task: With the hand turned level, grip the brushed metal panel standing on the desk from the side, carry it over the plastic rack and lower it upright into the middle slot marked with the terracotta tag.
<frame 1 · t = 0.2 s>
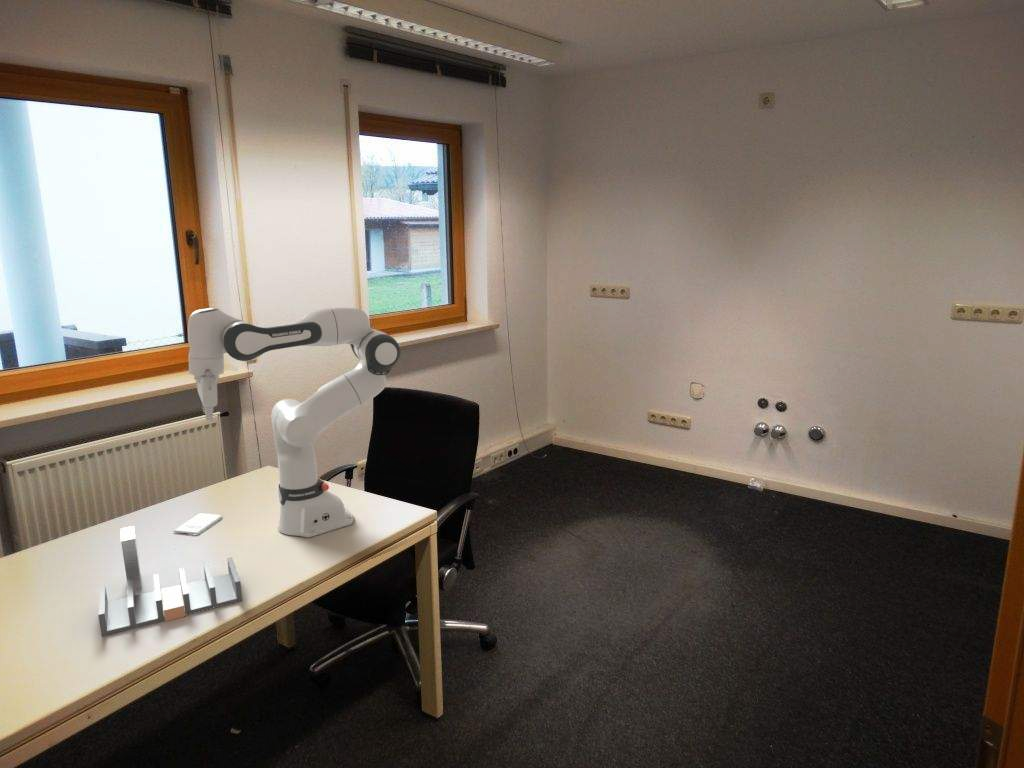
hand: (207, 416, 190), 39 cm above the table, tool pointing down, fingers open, 8 cm apart
panel: (134, 582, 178), on the table
rack: (173, 603, 168), on the table
external hard drive: (198, 527, 211), on the table
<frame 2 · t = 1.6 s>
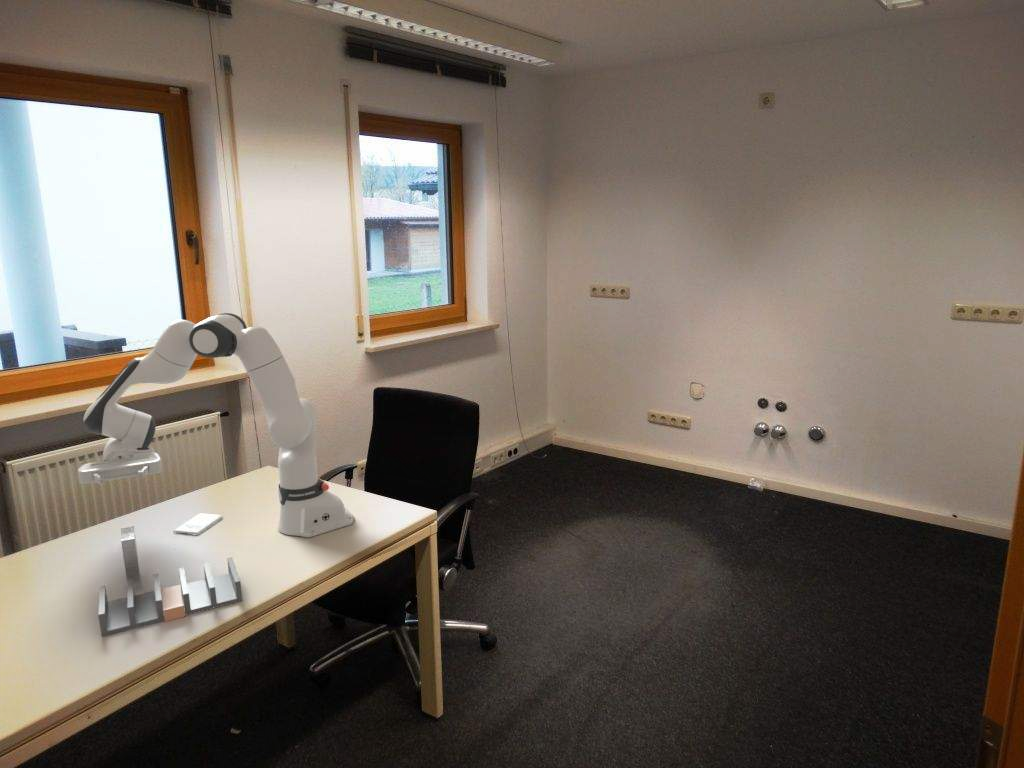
hand: (121, 478, 183), 25 cm above the table, tool horizontal, fingers open, 8 cm apart
nothing on the table moved.
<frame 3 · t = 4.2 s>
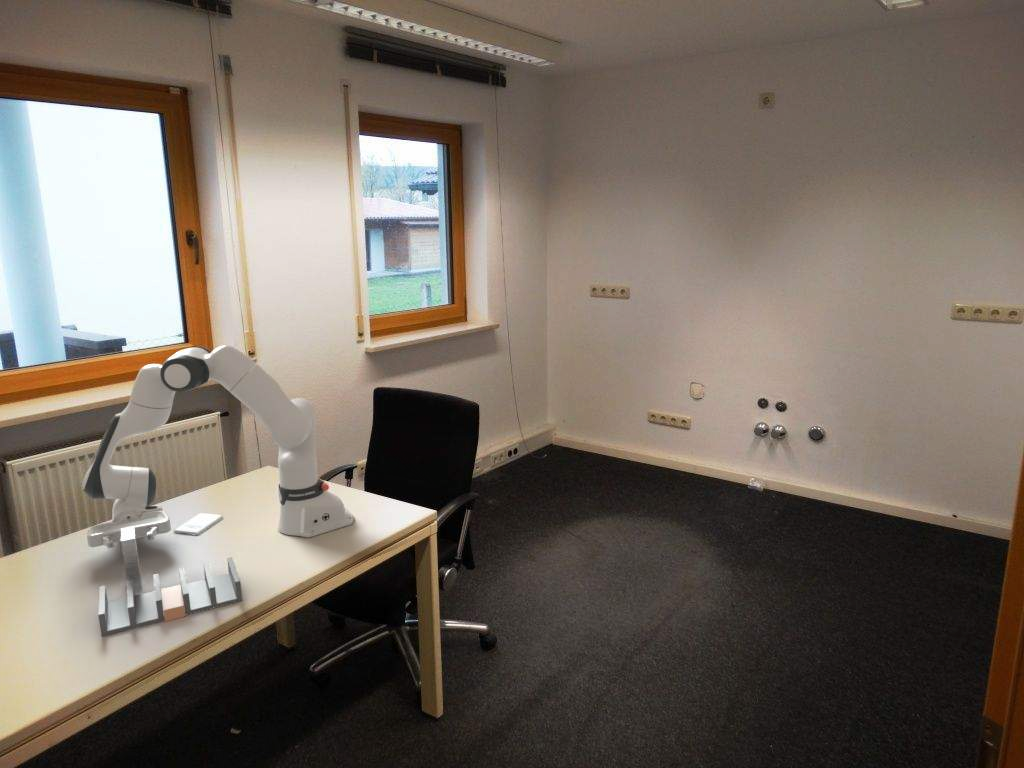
hand: (130, 541, 183), 8 cm above the table, tool horizontal, fingers open, 8 cm apart
nothing on the table moved.
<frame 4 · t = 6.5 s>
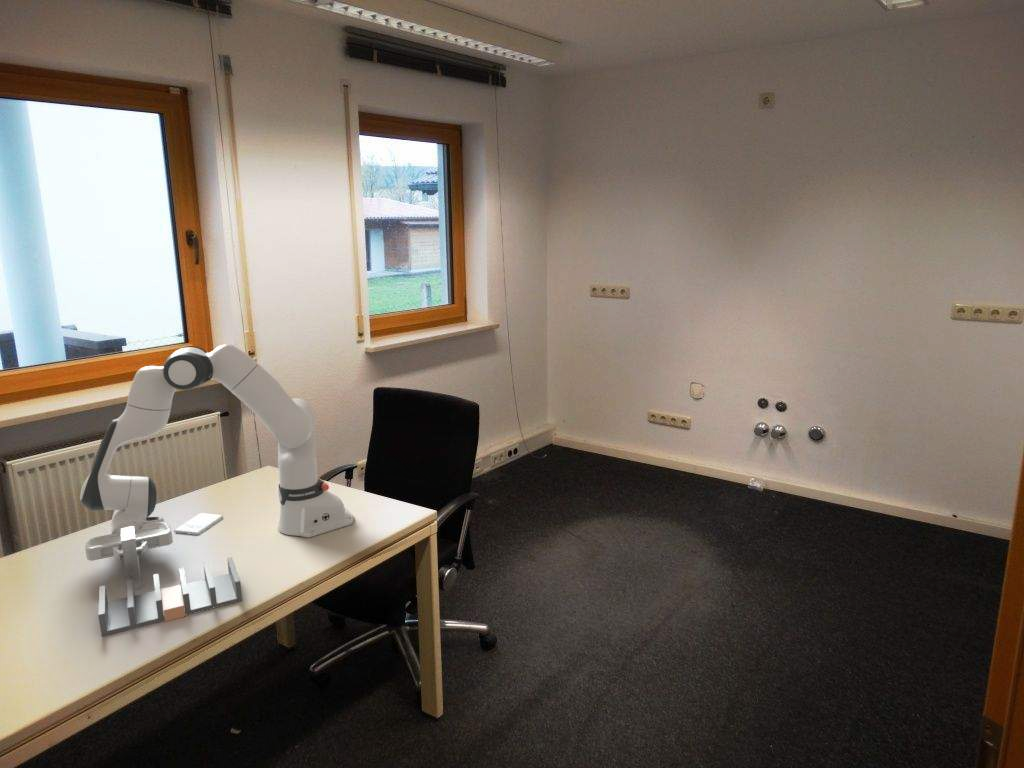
hand: (130, 554, 176), 8 cm above the table, tool horizontal, fingers closed on panel, 3 cm apart
panel: (134, 582, 178), on the table, touching gripper
everything else where it was.
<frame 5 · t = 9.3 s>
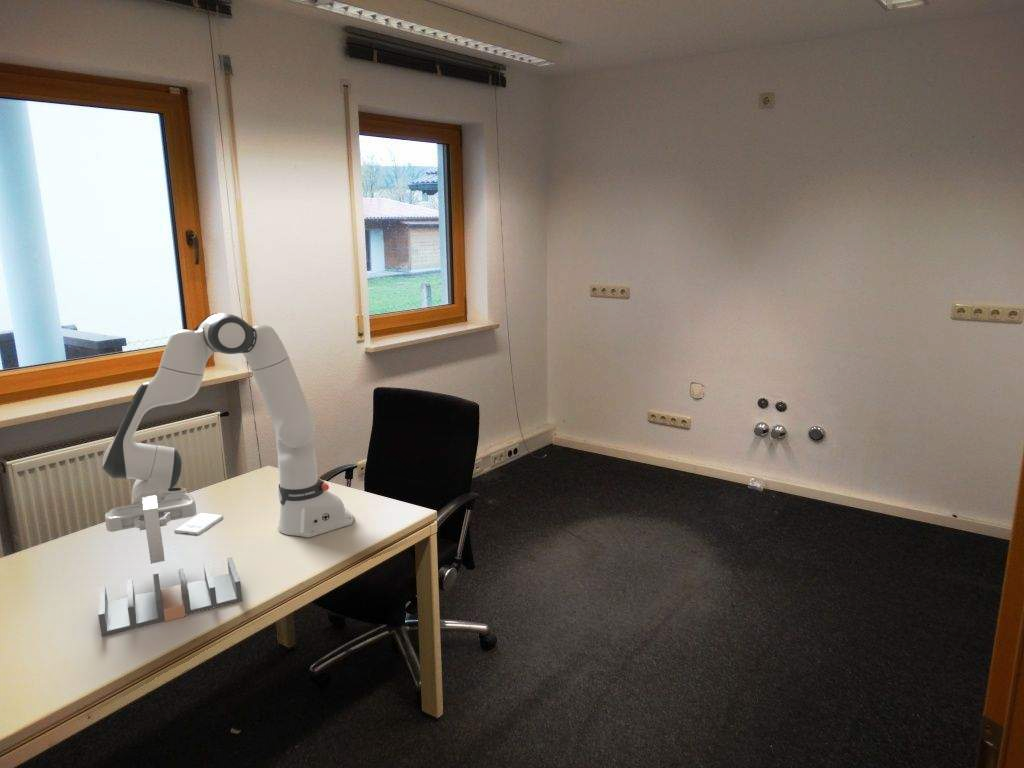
hand: (153, 525, 166), 20 cm above the table, tool horizontal, fingers closed on panel, 3 cm apart
panel: (157, 555, 168), point 12 cm above the table, touching gripper
everything else where it was.
when the fingers open (10 cm above the table, at t = 12.3 s): panel drops 1 cm, resting on rack.
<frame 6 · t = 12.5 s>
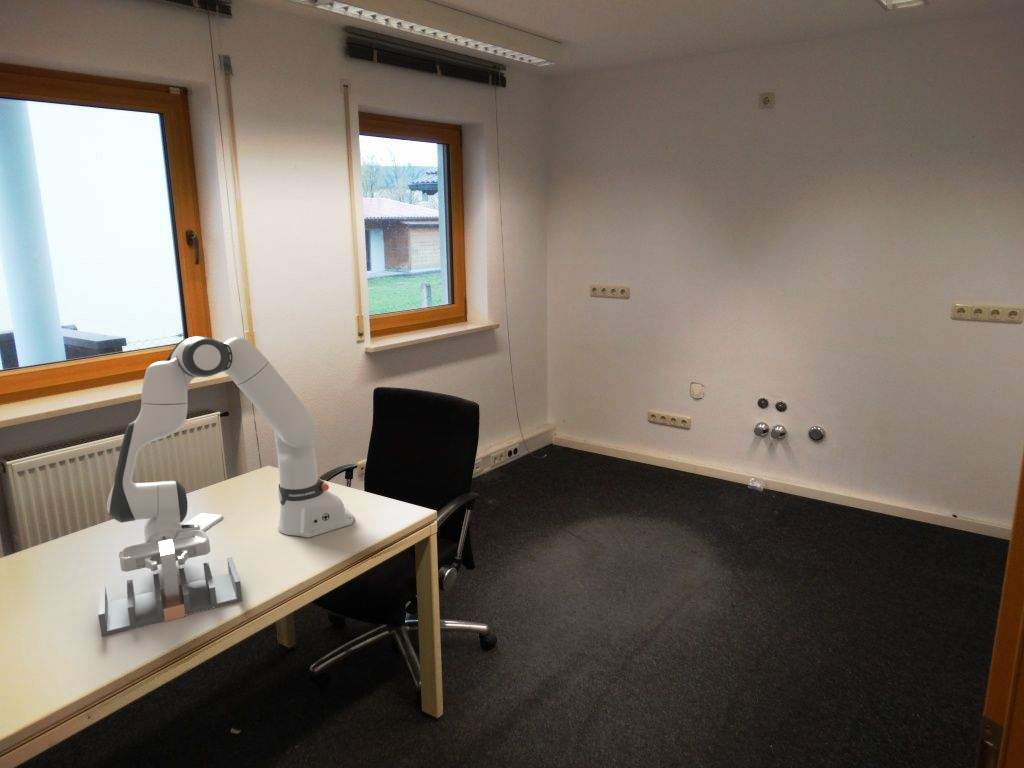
hand: (167, 565, 166), 10 cm above the table, tool horizontal, fingers open, 5 cm apart
panel: (172, 599, 168), point 1 cm above the table, touching rack
everything else where it was.
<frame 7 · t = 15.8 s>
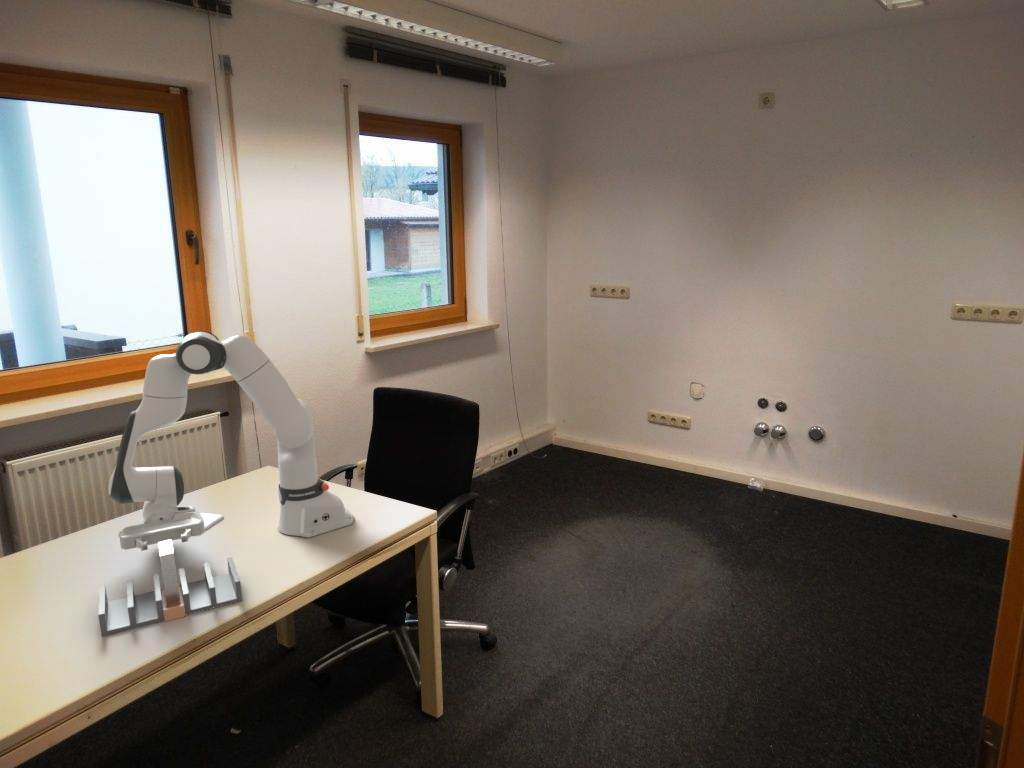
hand: (164, 543, 177), 10 cm above the table, tool horizontal, fingers open, 8 cm apart
nothing on the table moved.
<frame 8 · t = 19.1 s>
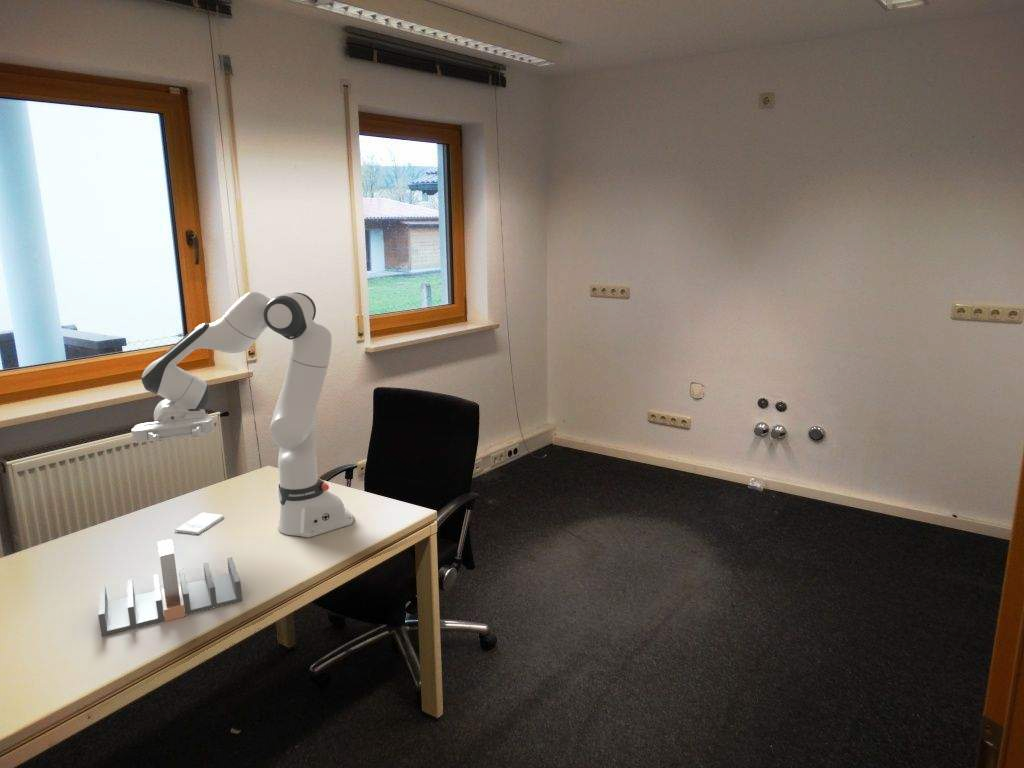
hand: (176, 436, 181), 36 cm above the table, tool horizontal, fingers open, 8 cm apart
nothing on the table moved.
at the end: panel 0.1 cm off-centre on the rack, point 1.2 cm above the rack's base; panel tilted 0°; the gripper is holding nothing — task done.
